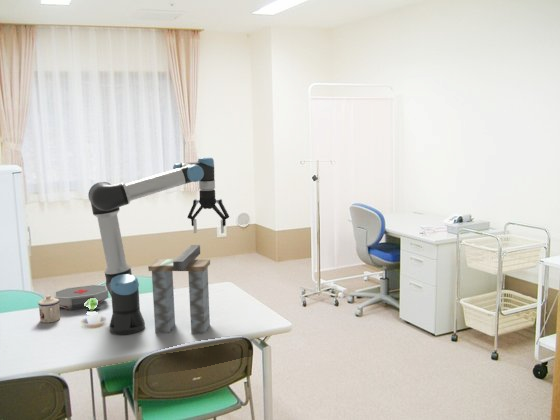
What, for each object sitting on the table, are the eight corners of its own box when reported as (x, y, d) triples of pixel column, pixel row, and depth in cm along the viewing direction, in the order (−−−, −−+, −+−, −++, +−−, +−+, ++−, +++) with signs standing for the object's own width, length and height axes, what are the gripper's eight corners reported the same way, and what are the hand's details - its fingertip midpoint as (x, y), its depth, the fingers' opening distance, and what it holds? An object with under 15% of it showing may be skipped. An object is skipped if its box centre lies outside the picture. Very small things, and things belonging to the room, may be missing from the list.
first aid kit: (106, 297, 286) (55, 303, 276) (105, 283, 285) (54, 289, 275) (109, 306, 270) (56, 314, 260) (108, 292, 269) (54, 299, 259)
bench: (152, 333, 234) (148, 265, 230) (160, 323, 246) (157, 258, 241) (206, 334, 232) (203, 266, 227) (212, 324, 244) (209, 258, 239)
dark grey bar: (173, 271, 222) (173, 261, 221) (191, 253, 251) (191, 245, 250) (183, 271, 221) (182, 261, 221) (200, 253, 251) (199, 245, 250)
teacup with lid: (38, 318, 255) (36, 295, 253) (59, 315, 259) (57, 291, 258) (41, 326, 245) (39, 302, 243) (63, 322, 249) (61, 298, 247)
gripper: (179, 190, 259) (181, 234, 262) (231, 190, 256) (232, 234, 259) (184, 188, 266) (186, 231, 269) (234, 188, 263) (235, 231, 267)
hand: (208, 232), depth 264 cm, fingers open, 13 cm apart
